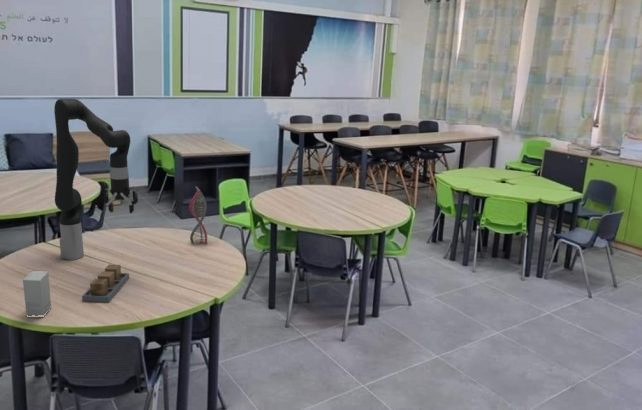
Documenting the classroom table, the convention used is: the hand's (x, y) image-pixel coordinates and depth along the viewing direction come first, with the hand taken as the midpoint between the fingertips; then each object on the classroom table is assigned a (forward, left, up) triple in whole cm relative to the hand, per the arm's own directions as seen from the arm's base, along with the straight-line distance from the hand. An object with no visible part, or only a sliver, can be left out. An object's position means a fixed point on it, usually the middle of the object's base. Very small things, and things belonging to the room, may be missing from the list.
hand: (121, 212), depth 243 cm
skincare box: (-18, -43, -28) cm, 54 cm away
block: (-1, -28, -27) cm, 39 cm away
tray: (-1, -20, -28) cm, 34 cm away
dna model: (+25, +40, -28) cm, 55 cm away
